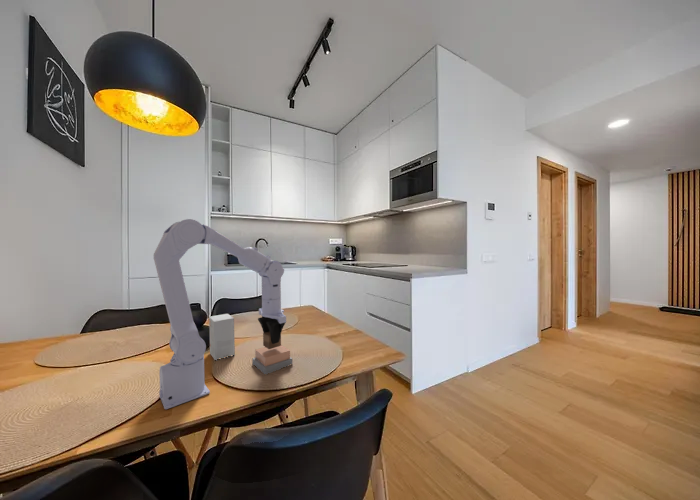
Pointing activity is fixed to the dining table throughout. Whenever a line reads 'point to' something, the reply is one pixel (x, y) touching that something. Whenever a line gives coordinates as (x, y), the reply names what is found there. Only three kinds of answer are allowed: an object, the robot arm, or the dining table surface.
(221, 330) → the small box
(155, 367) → the dining table surface
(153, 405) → the dining table surface
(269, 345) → the walnut cube
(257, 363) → the slate slab
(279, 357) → the terracotta tile
